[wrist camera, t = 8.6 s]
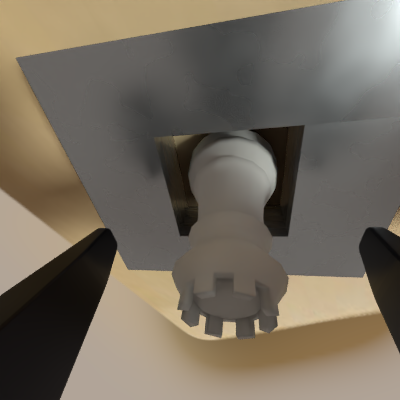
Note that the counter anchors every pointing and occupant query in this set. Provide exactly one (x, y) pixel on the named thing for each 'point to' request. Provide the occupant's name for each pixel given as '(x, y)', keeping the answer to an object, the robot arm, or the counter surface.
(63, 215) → the counter surface
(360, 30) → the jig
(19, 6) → the counter surface
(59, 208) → the counter surface
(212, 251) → the rook chess piece
